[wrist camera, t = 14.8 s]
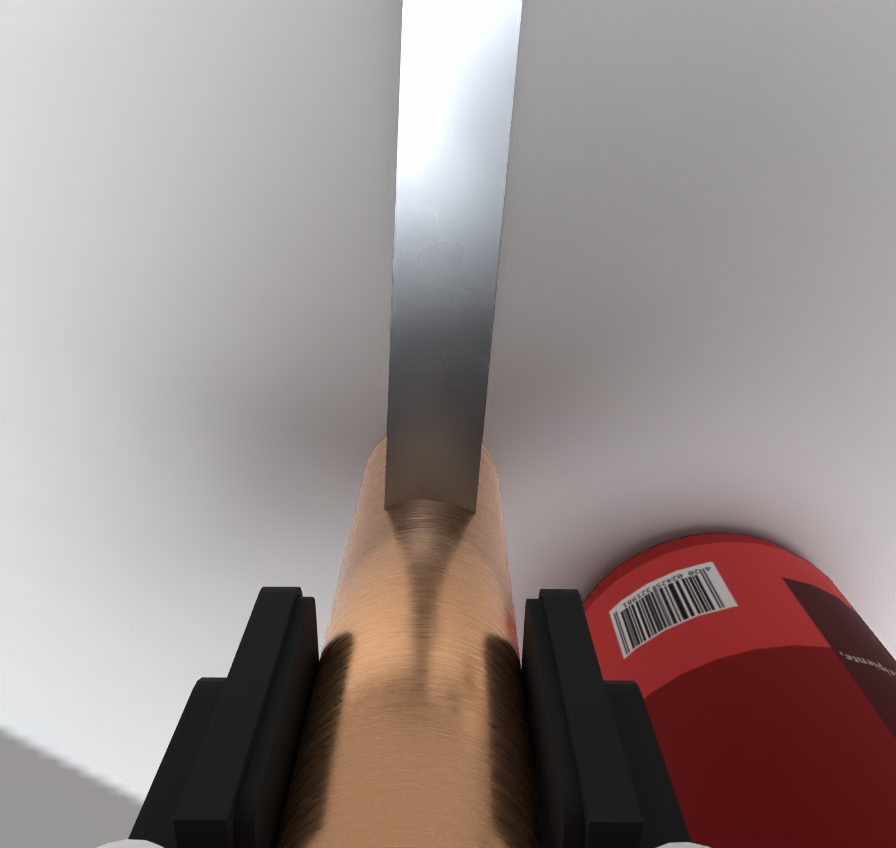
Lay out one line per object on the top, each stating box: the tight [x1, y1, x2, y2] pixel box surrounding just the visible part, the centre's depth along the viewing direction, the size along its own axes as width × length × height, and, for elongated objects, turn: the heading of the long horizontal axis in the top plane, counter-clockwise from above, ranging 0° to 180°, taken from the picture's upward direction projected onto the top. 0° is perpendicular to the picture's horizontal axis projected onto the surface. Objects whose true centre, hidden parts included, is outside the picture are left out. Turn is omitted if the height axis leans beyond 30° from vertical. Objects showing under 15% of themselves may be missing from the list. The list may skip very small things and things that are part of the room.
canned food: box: [582, 533, 896, 848], centre depth 16 cm, size 8×8×11 cm
